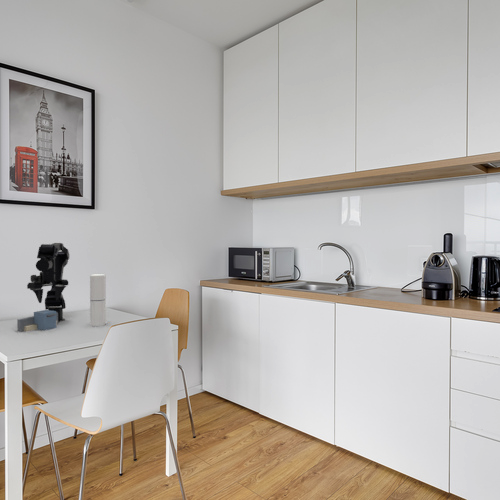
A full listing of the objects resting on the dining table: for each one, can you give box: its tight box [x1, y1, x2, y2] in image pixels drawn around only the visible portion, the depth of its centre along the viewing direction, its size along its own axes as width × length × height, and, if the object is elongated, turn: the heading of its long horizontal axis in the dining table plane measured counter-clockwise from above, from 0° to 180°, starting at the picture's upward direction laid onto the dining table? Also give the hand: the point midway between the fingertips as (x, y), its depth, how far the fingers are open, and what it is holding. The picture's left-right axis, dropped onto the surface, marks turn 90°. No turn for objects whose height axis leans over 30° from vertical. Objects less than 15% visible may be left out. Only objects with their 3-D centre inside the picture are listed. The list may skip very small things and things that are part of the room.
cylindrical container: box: [89, 273, 107, 327], centre depth 195 cm, size 7×7×25 cm
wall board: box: [16, 312, 59, 333], centre depth 189 cm, size 20×4×6 cm, turn 155°
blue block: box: [33, 309, 57, 331], centre depth 187 cm, size 6×8×8 cm
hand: (48, 301), depth 192 cm, fingers open, 9 cm apart
